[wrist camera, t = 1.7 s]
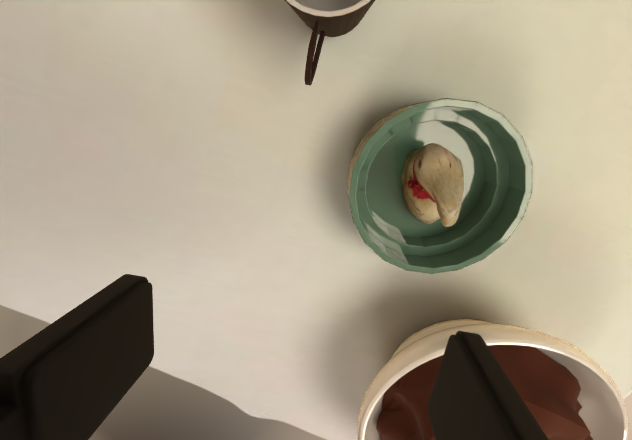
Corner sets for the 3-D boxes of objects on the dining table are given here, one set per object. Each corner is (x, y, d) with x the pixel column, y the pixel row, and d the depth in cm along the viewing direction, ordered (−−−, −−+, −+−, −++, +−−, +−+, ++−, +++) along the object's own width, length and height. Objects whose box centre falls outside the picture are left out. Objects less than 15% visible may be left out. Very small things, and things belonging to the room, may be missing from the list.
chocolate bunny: (464, 150, 30) (522, 165, 21) (435, 224, 33) (475, 267, 23) (409, 136, 30) (442, 145, 21) (384, 211, 33) (404, 249, 23)
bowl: (360, 94, 30) (364, 88, 24) (520, 112, 29) (560, 111, 24) (338, 240, 34) (338, 261, 29) (475, 257, 34) (501, 283, 29)
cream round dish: (607, 343, 36) (785, 490, 22) (473, 467, 44) (539, 637, 29) (427, 244, 34) (493, 335, 19) (318, 393, 41) (308, 538, 27)
